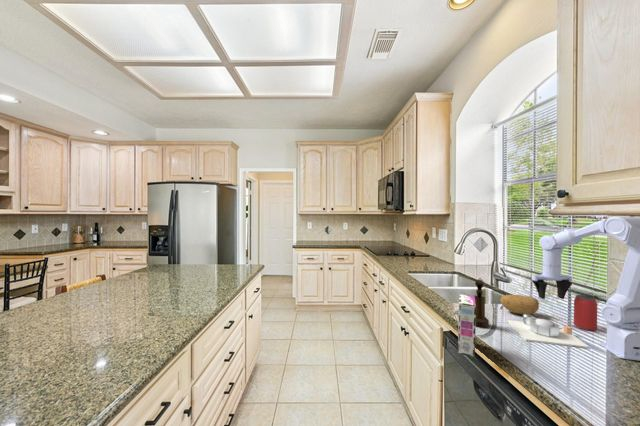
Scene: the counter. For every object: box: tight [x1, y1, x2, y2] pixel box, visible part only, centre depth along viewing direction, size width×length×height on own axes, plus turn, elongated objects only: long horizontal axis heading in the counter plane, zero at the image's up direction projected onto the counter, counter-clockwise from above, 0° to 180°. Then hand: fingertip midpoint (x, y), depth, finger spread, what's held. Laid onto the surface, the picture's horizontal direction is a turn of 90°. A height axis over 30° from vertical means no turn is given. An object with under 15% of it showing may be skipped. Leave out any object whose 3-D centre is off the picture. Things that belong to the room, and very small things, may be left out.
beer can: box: [573, 294, 598, 332], centre depth 107 cm, size 7×7×12 cm
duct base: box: [507, 318, 590, 349], centre depth 101 cm, size 17×18×5 cm
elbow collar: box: [522, 313, 560, 337], centre depth 104 cm, size 13×8×3 cm, turn 3°
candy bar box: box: [457, 293, 477, 358], centre depth 91 cm, size 11×5×16 cm, turn 152°
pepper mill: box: [474, 279, 490, 328], centre depth 109 cm, size 7×6×18 cm
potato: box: [499, 294, 540, 316], centre depth 121 cm, size 10×14×8 cm
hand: (551, 298), depth 111 cm, fingers open, 7 cm apart
